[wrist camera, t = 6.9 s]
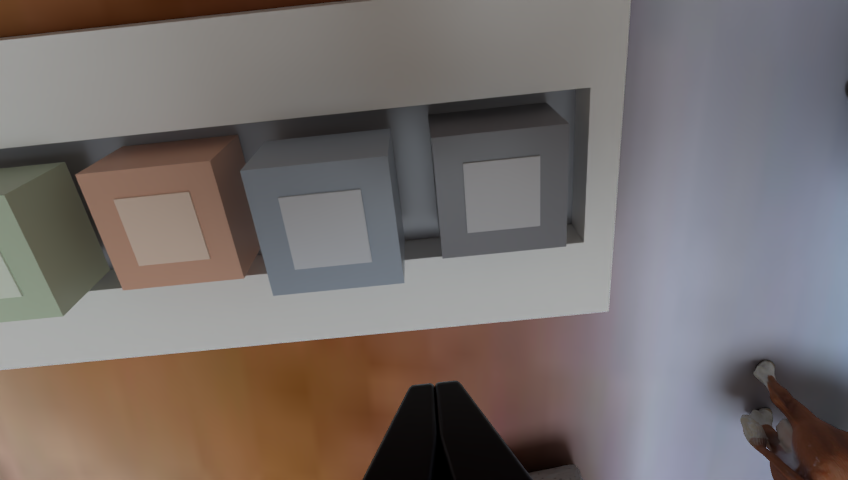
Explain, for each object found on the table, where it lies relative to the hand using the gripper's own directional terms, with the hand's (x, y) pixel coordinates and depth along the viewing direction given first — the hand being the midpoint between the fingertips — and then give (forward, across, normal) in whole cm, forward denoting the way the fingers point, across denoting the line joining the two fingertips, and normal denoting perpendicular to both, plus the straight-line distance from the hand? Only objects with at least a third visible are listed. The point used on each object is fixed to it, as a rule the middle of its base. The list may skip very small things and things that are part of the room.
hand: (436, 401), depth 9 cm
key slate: (+10, +3, 0) cm, 11 cm away
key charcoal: (+12, -3, 0) cm, 12 cm away
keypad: (+13, +6, 0) cm, 14 cm away
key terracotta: (+12, +8, 0) cm, 14 cm away
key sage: (+11, +14, 0) cm, 17 cm away
